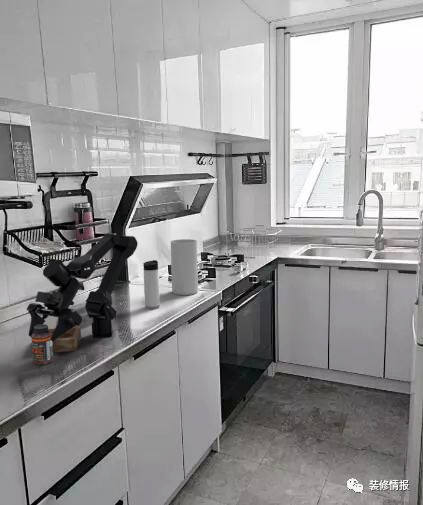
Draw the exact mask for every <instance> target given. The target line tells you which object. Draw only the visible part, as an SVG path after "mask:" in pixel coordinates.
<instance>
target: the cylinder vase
mask: <svg viewBox="0 0 423 505" xmlns="http://www.w3.org/2000/svg"><path fill="white" fill-rule="evenodd" d="M170 267H171V291H172V294H174V295H177V296H189V295H190V296H191V295H194V294H197V293H198V292H199V279H198V277H199V273H198V271H199V270H198V240H197V239H191V238H189V239H186V238H185V239H174V240H170Z"/></svg>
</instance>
